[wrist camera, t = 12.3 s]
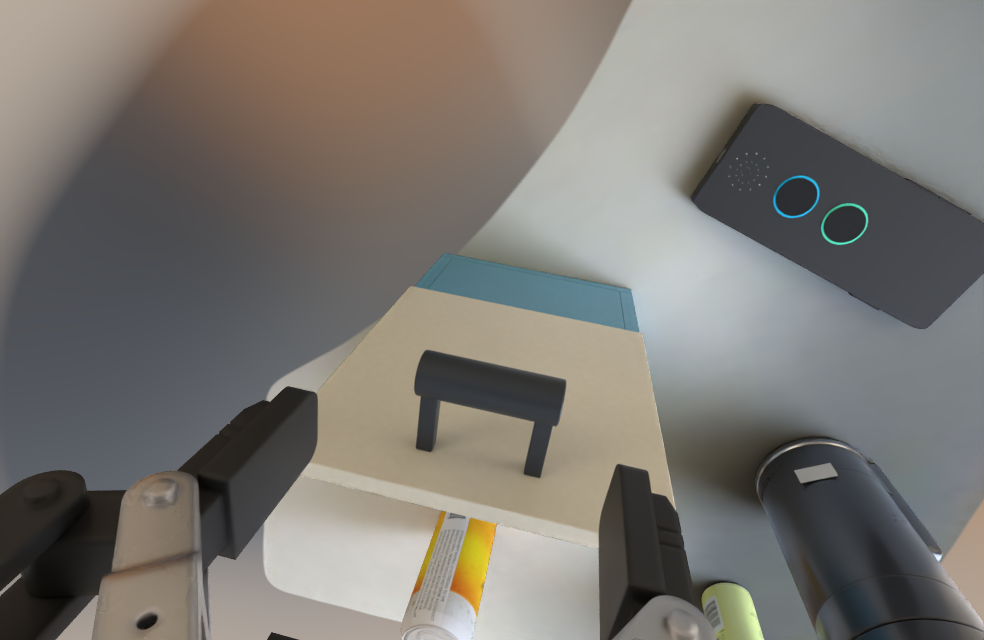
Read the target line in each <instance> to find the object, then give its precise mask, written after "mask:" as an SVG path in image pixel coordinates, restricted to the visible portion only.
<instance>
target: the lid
mask: <svg viewBox="0 0 984 640" xmlns="http://www.w3.org/2000/svg"><path fill="white" fill-rule="evenodd" d="M316 394H317V397H318V440H317V446H316V450H315V452H314V455H313V457H312V459H311V461H310V462H309V464H308V465H307V466H306V468H305V469H304V470H303V472H302V473H301V474H300V476H304V477H308V478H312V479H316V480H320V481H324V482H328V483H332V484H336V485H340V486H344V487H348V488H353V489H357V490H361V491H365V492H369V493H373V494H377V495H381V496H385V497H389V498H393V499H397V500H401V501H405V502H409V503H413V504H417V505H422V506H426V507H430V508H434V509H438V510H442V511H446V512H450V513H454V514H458V515H462V516H466V517H470V518H474V519H478V520H482V521H487V522H491V523H495V524H499V525H503V526H507V527H511V528H515V529H519V530H523V531H527V532H531V533H535V534H539V535H543V536H547V537H551V538H556V539H560V540H564V541H568V542H572V543H576V544H580V545H584V546H588V547H592V548H596V549H599V522H600V516H601V511H602V508H603V504H604V501H605V498H606V495H607V492H608V489H609V486H610V482H611V479H612V476H613V473H614V470H615V467H616V465H617V464H622V465H627V466H631V467H635V468H640V469H644V470H647V471H648V473H649V478H650V485H651V492H652V493H655V494H660V495H664V496H666V497H667V498H668V500H669V501H670V503H671V504H672V506H673V507H674V509H675V510H676V507H675V502H674V497H673V492H672V487H671V481H670V476H669V471H668V466H667V460H666V455H665V450H664V445H663V439H662V434H661V429H660V424H659V418H658V413H657V408H656V403H655V398H654V392H653V387H652V382H651V377H650V371H649V366H648V361H647V356H646V350H645V345H644V340H643V335H642V333H639V332H634V331H629V330H624V329H619V328H614V327H609V326H604V325H600V324H595V323H590V322H585V321H580V320H575V319H570V318H565V317H560V316H556V315H551V314H546V313H541V312H536V311H531V310H526V309H521V308H516V307H512V306H507V305H502V304H497V303H492V302H487V301H482V300H477V299H472V298H468V297H463V296H458V295H453V294H448V293H443V292H438V291H433V290H428V289H424V288H419V287H414V286H410V287H409V288H408V289H407V290H406V291H405V293H404V294H403V295H402V296H401V297H400V298H399V299H398V300H397V302H396V303H395V304H394V305H393V306H392V307H391V308H390V310H389V311H388V312H387V313H386V314H385V315H384V316H383V317H382V319H381V320H380V321H379V322H378V323H377V324H376V325H375V327H374V328H373V329H372V330H371V331H370V332H369V333H368V334H367V336H366V337H365V338H364V339H363V340H362V341H361V342H360V344H359V345H358V346H357V347H356V348H355V349H354V350H353V351H352V353H351V354H350V355H349V356H348V357H347V358H346V359H345V361H344V362H343V363H342V364H341V365H340V366H339V367H338V368H337V370H336V371H335V372H334V373H333V374H332V375H331V376H330V378H329V379H328V380H327V381H326V382H325V383H324V384H323V385H322V387H321V388H320V389H319V390H318V391H317V392H316Z"/></svg>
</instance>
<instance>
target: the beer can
mask: <svg viewBox="0 0 984 640" xmlns="http://www.w3.org/2000/svg"><path fill="white" fill-rule="evenodd" d="M496 526H497V524H495V523H491V522H487V521H482V520H478V519H474V518H470V517H466V516H462V515H458V514H454V513H450V512H446V511H441V514H440V516H439V519H438V522H437V525H436V528H435V530H434V533H433V536H432V539H431V542H430V545H429V547H428V550H427V553H426V556H425V559H424V561H423V564H422V567H421V570H420V573H419V576H418V578H417V581H416V584H415V587H414V590H413V593H412V595H411V598H410V601H409V604H408V607H407V609H406V612H405V615H404V618H403V621H402V624H401V635H402V639H401V640H472V638H473V633H474V629H475V624H476V619H477V615H478V610H479V605H480V601H481V596H482V591H483V587H484V582H485V578H486V573H487V568H488V564H489V559H490V554H491V550H492V545H493V540H494V536H495V531H496Z"/></svg>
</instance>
